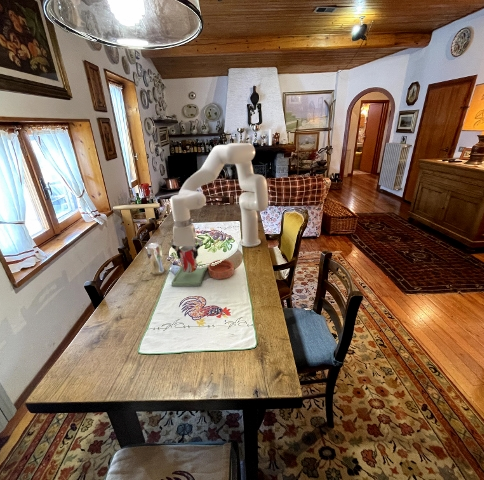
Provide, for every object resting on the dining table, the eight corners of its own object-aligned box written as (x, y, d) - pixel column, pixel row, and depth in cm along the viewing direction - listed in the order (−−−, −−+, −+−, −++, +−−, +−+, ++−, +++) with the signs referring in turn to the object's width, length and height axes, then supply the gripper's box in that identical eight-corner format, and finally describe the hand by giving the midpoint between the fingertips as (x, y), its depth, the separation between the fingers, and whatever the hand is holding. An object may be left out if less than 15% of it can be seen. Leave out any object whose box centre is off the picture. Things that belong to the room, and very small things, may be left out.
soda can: (194, 274, 120) (190, 252, 115) (180, 273, 121) (176, 251, 116) (199, 267, 126) (196, 245, 121) (185, 266, 127) (182, 244, 122)
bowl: (211, 266, 132) (210, 259, 131) (235, 266, 131) (234, 259, 130) (206, 279, 121) (206, 272, 119) (232, 279, 120) (232, 272, 118)
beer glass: (167, 268, 133) (162, 242, 127) (162, 275, 126) (156, 248, 120) (154, 268, 134) (149, 242, 127) (149, 275, 127) (143, 248, 121)
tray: (182, 267, 133) (182, 263, 132) (207, 267, 132) (206, 263, 131) (172, 286, 118) (171, 282, 117) (199, 286, 116) (199, 282, 116)
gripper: (203, 219, 116) (207, 253, 123) (166, 220, 118) (172, 254, 125) (199, 225, 109) (204, 261, 116) (160, 225, 111) (167, 261, 118)
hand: (187, 257), depth 120 cm, fingers closed on soda can, 7 cm apart
